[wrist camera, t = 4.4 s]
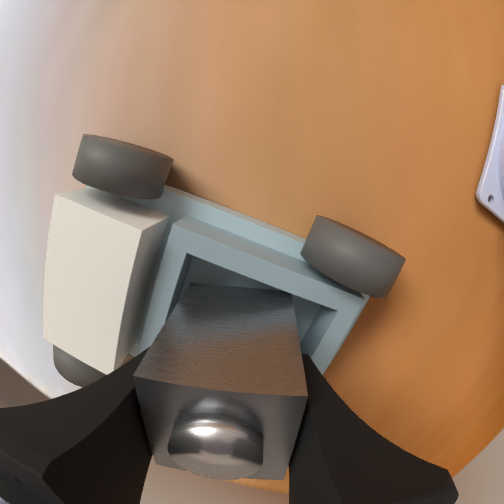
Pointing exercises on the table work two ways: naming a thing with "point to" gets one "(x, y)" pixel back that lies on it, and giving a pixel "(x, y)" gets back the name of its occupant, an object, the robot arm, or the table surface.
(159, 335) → the grey block with knob
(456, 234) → the table surface
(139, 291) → the chassis
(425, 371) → the table surface
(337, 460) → the robot arm
